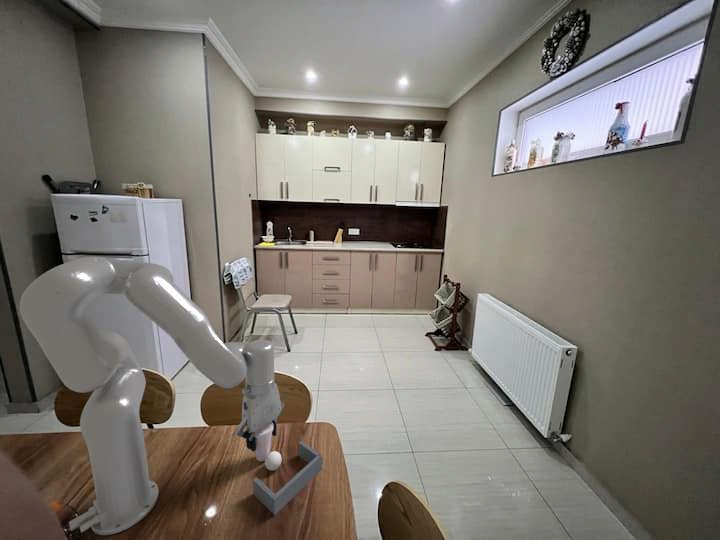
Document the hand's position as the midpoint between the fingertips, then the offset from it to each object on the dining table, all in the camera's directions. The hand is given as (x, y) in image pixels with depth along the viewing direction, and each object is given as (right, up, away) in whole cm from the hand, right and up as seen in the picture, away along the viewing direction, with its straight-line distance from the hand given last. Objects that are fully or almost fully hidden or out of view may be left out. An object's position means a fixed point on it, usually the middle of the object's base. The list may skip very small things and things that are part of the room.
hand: (262, 440), depth 82 cm
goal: (+10, -8, -6) cm, 13 cm away
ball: (+4, -4, -2) cm, 6 cm away
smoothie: (0, -5, +1) cm, 5 cm away
